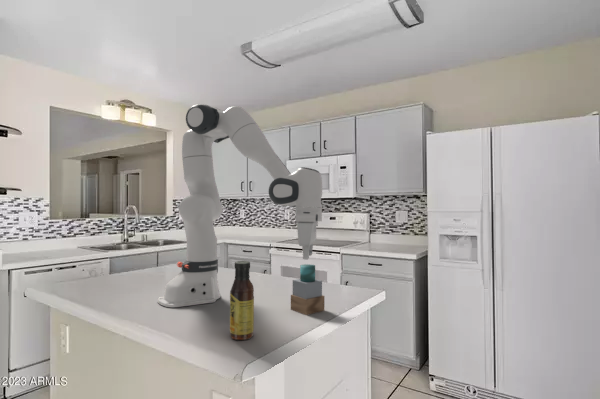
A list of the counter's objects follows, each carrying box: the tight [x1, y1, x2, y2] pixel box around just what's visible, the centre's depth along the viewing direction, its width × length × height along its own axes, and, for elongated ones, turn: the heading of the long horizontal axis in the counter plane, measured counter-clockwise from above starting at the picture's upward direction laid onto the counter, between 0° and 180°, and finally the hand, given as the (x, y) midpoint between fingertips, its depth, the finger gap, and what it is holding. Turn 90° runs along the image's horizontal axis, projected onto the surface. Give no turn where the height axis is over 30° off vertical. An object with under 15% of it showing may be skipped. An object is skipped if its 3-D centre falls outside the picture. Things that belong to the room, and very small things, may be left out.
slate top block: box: [292, 278, 323, 299], centre depth 119 cm, size 7×7×5 cm
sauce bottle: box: [229, 260, 255, 341], centre depth 94 cm, size 7×6×20 cm
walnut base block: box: [290, 294, 325, 316], centre depth 119 cm, size 8×8×5 cm
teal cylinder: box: [299, 263, 316, 282], centre depth 119 cm, size 5×5×5 cm
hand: (307, 257), depth 119 cm, fingers open, 8 cm apart
